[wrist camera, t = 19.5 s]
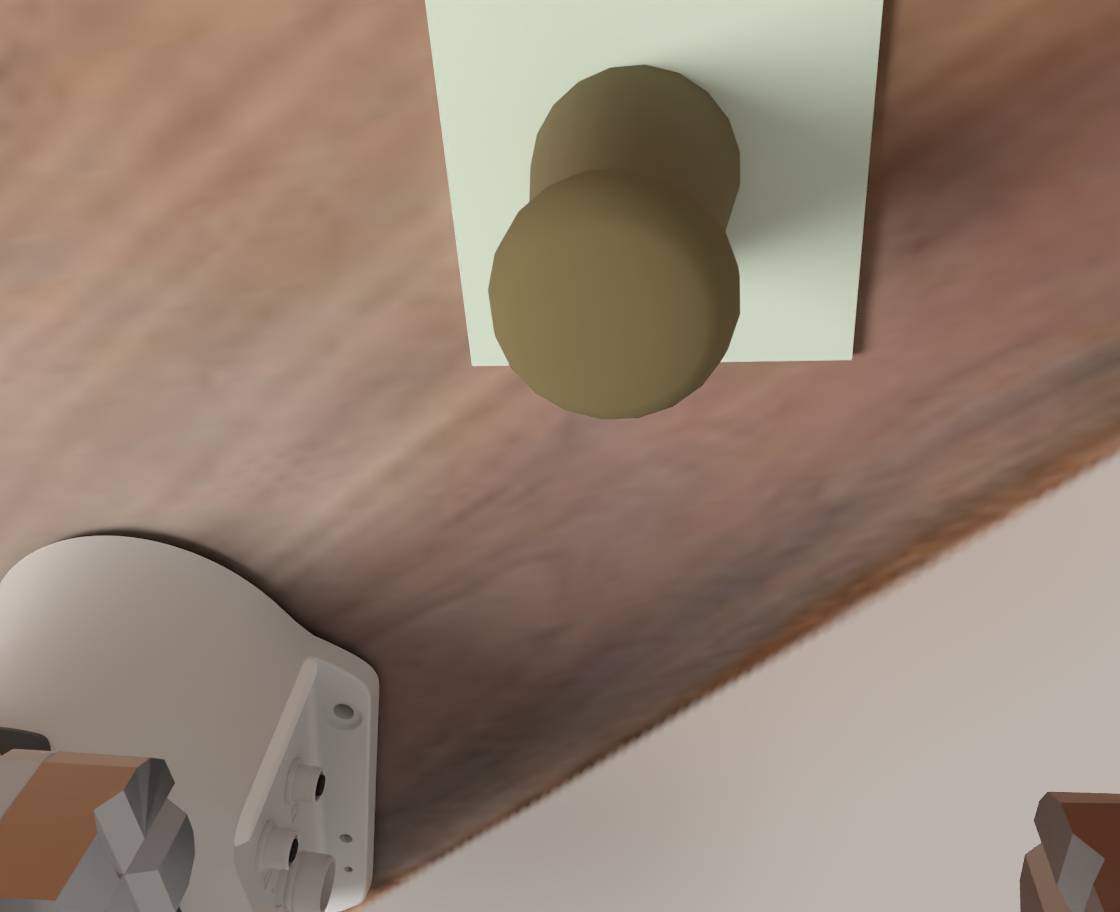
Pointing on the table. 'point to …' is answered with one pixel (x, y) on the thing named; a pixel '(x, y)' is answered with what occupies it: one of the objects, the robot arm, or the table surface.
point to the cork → (622, 247)
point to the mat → (742, 94)
